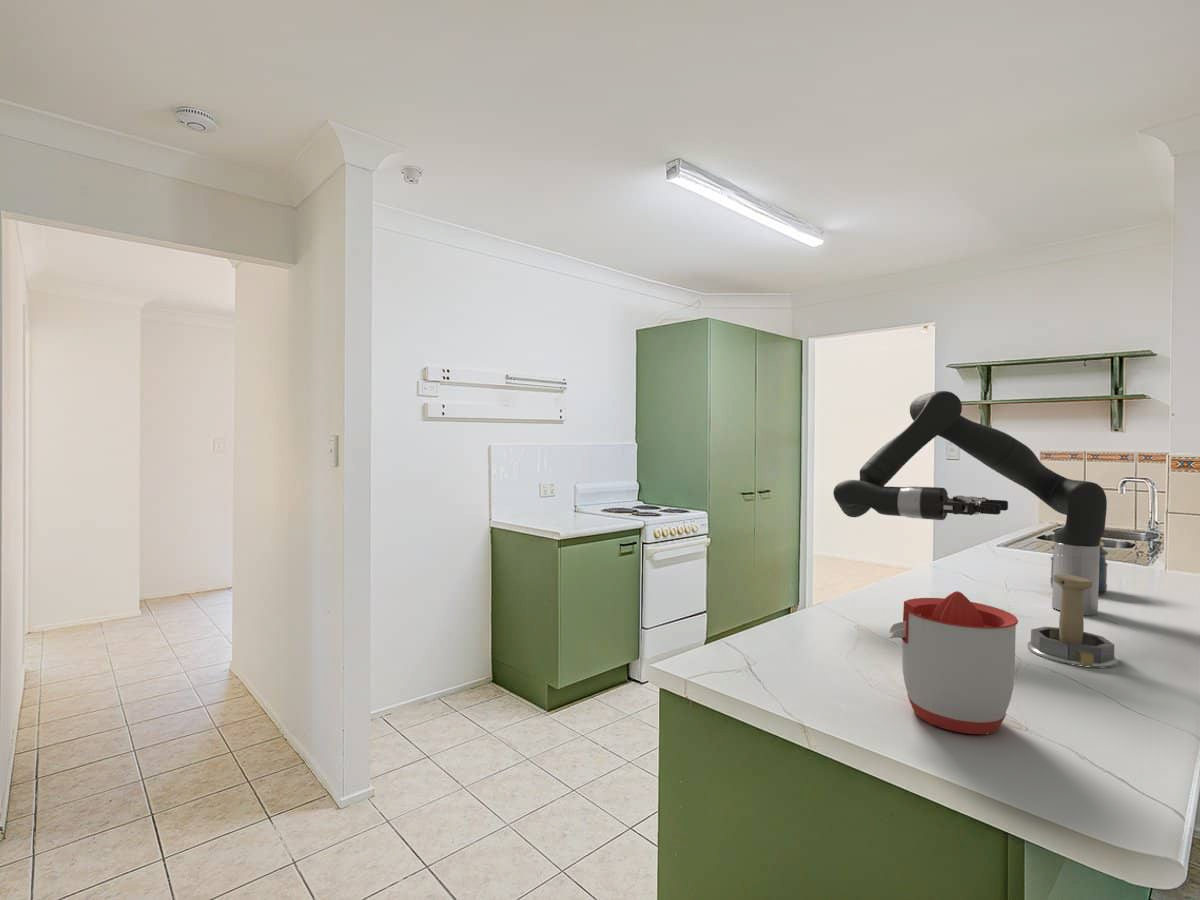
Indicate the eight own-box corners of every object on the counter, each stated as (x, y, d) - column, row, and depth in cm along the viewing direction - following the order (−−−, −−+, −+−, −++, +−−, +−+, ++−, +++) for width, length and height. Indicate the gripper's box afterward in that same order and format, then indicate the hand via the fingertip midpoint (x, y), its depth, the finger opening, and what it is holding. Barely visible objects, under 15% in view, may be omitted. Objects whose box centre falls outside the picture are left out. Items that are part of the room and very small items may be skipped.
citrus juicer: (884, 689, 106) (887, 574, 105) (1002, 707, 99) (1005, 585, 99) (889, 728, 91) (892, 596, 91) (1027, 753, 85) (1031, 610, 84)
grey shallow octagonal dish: (1017, 638, 133) (1017, 622, 133) (1096, 646, 128) (1097, 629, 128) (1042, 662, 119) (1043, 644, 119) (1132, 672, 114) (1133, 653, 114)
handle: (1075, 657, 120) (1078, 582, 120) (1046, 646, 126) (1048, 574, 126) (1095, 656, 121) (1098, 581, 121) (1065, 645, 127) (1067, 574, 127)
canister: (1066, 594, 171) (1067, 532, 171) (1040, 583, 184) (1042, 525, 184) (1118, 597, 169) (1120, 534, 169) (1088, 585, 182) (1090, 527, 182)
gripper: (913, 489, 138) (997, 492, 127) (930, 484, 149) (1010, 487, 138) (913, 522, 138) (997, 528, 127) (930, 515, 149) (1010, 521, 138)
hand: (1004, 507), depth 132 cm, fingers open, 8 cm apart
